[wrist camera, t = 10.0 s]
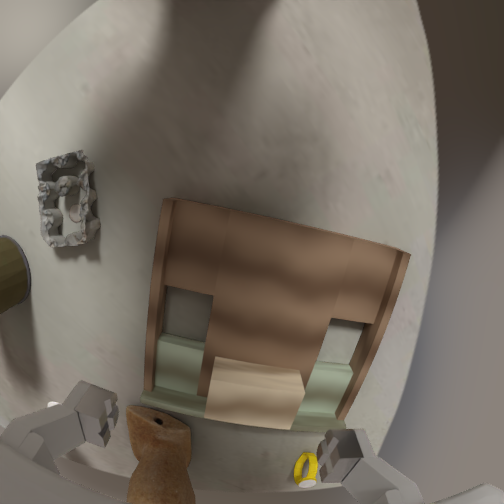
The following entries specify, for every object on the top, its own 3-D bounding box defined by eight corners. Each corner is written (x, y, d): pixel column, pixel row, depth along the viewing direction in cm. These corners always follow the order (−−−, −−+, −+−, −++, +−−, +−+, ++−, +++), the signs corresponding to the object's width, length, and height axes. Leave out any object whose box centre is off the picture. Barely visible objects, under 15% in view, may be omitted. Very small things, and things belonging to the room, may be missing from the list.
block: (215, 356, 32) (210, 379, 28) (299, 370, 33) (305, 393, 29) (208, 394, 34) (203, 417, 29) (285, 405, 34) (289, 429, 30)
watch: (303, 466, 40) (306, 492, 35) (288, 464, 40) (290, 491, 34) (319, 448, 39) (324, 476, 33) (303, 446, 39) (307, 475, 33)
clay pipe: (202, 470, 40) (192, 539, 25) (135, 455, 40) (112, 519, 25) (209, 415, 37) (196, 500, 22) (129, 397, 36) (92, 471, 22)
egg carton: (104, 240, 32) (88, 248, 28) (57, 244, 32) (39, 251, 28) (98, 150, 30) (81, 147, 26) (51, 161, 30) (31, 160, 26)
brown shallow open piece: (172, 197, 31) (158, 199, 26) (396, 247, 32) (417, 257, 27) (150, 380, 36) (140, 402, 31) (335, 409, 37) (343, 432, 32)
